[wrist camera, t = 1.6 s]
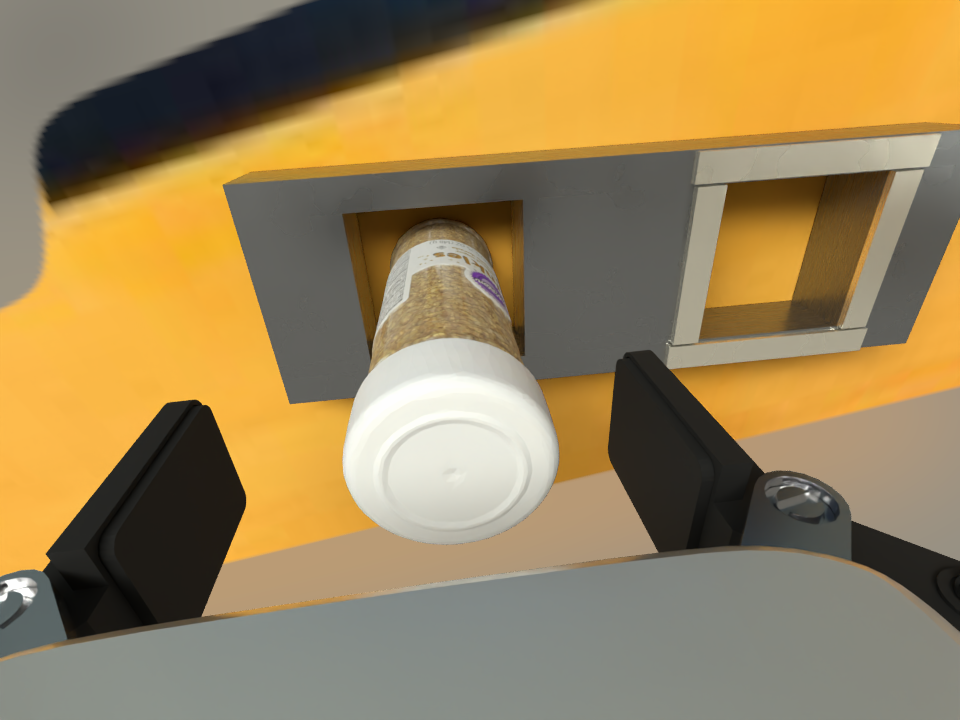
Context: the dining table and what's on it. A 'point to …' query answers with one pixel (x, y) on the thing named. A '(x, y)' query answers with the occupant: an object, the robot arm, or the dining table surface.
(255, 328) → the dining table surface
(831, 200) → the rail
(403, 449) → the sprinkles bottle
